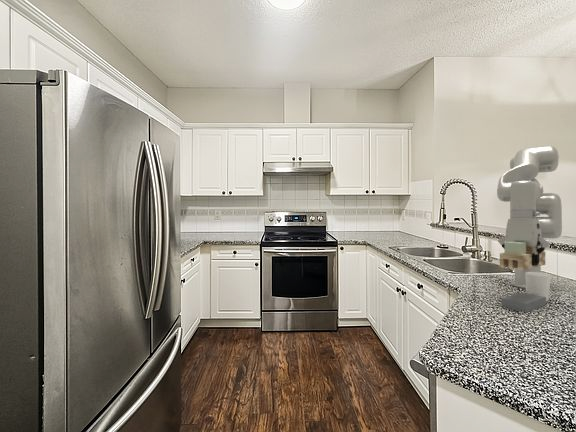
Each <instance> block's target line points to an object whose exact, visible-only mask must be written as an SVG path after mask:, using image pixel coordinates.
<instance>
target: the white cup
mask: <svg viewBox="0 0 576 432" xmlns="http://www.w3.org/2000/svg"><path fill="white" fill-rule="evenodd" d="M525 281H526V288H525V291H526V292H525V293H528V294H533V295H539V296H544V297H546V302H548V301H549V300H550V299H549V298H550V297H549V296H550V289H551V288H550V287H551V274H549V273H546V272H541V273H539V272H526V273H525Z"/></svg>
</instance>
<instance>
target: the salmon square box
mask: <svg viewBox="0 0 576 432" xmlns="http://www.w3.org/2000/svg"><path fill="white" fill-rule="evenodd" d="M540 247H541V245H540V246H538V248H540ZM526 251H527V252H533V251H532V249H531V248H530V247H526Z"/></svg>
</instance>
